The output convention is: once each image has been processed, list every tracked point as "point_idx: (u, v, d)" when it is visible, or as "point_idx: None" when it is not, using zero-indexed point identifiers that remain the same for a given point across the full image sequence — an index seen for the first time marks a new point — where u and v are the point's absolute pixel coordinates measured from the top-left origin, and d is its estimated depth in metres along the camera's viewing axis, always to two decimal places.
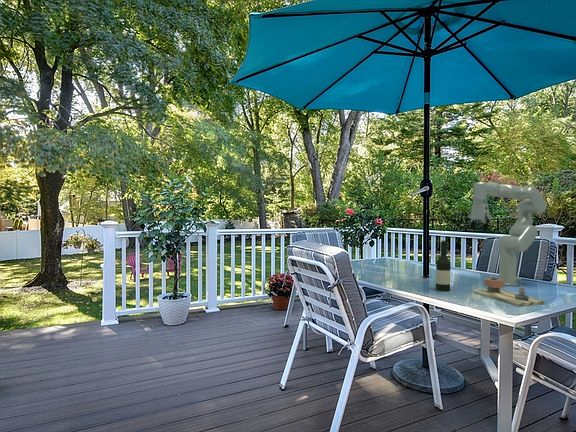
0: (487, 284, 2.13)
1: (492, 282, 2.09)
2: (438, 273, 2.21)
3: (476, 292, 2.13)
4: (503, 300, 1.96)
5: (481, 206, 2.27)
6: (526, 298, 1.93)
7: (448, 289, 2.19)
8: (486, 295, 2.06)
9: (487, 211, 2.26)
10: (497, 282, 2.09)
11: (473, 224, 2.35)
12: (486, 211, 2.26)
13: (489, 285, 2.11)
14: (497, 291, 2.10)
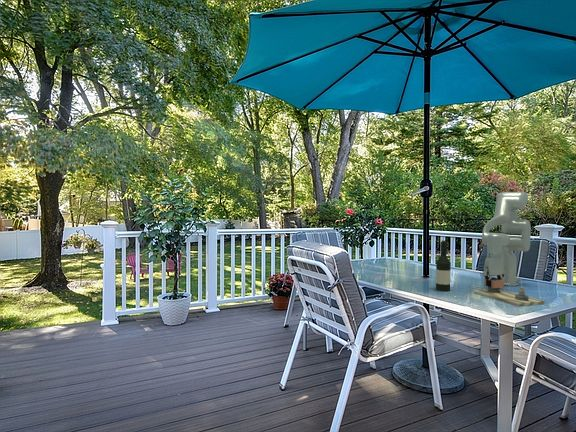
0: None
1: (492, 282, 2.09)
2: (438, 273, 2.21)
3: (476, 292, 2.13)
4: (503, 300, 1.96)
5: (502, 260, 2.11)
6: (526, 298, 1.93)
7: (448, 289, 2.19)
8: (486, 295, 2.06)
9: None
10: (497, 282, 2.09)
11: None
12: None
13: None
14: (497, 291, 2.10)
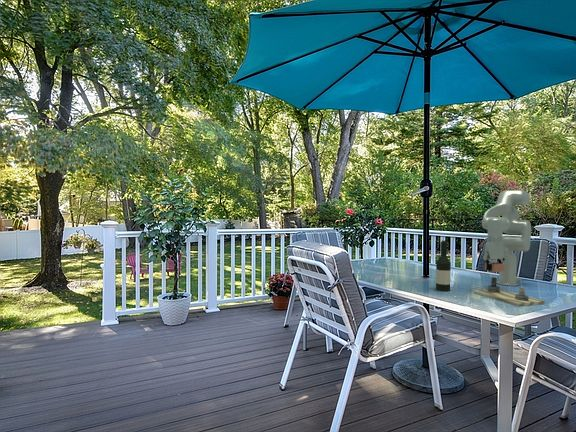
0: None
1: (492, 266, 2.09)
2: (438, 273, 2.21)
3: (476, 292, 2.13)
4: (503, 300, 1.96)
5: (502, 244, 2.11)
6: (526, 298, 1.93)
7: (448, 289, 2.19)
8: (486, 295, 2.06)
9: None
10: (497, 266, 2.09)
11: None
12: None
13: None
14: (497, 291, 2.10)
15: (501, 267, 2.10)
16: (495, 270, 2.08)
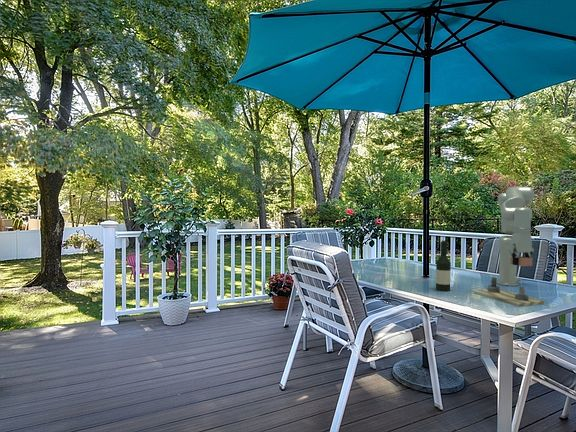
0: None
1: (520, 260, 1.92)
2: (438, 273, 2.21)
3: (476, 292, 2.13)
4: (503, 300, 1.96)
5: (530, 236, 1.94)
6: (526, 298, 1.93)
7: (448, 289, 2.19)
8: (486, 295, 2.06)
9: None
10: (525, 260, 1.92)
11: None
12: None
13: None
14: (497, 291, 2.10)
15: (529, 261, 1.93)
16: (522, 264, 1.91)
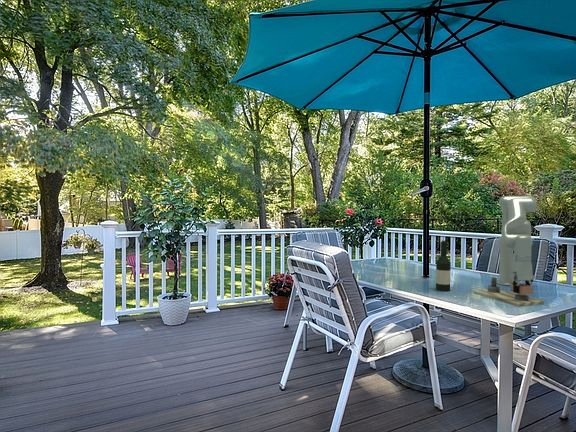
0: None
1: (520, 288, 1.92)
2: (438, 273, 2.21)
3: (476, 292, 2.13)
4: (503, 300, 1.96)
5: (531, 264, 1.94)
6: (526, 298, 1.93)
7: (448, 289, 2.19)
8: (486, 295, 2.06)
9: None
10: (526, 288, 1.91)
11: None
12: None
13: None
14: (497, 291, 2.10)
15: (530, 289, 1.92)
16: (523, 292, 1.91)
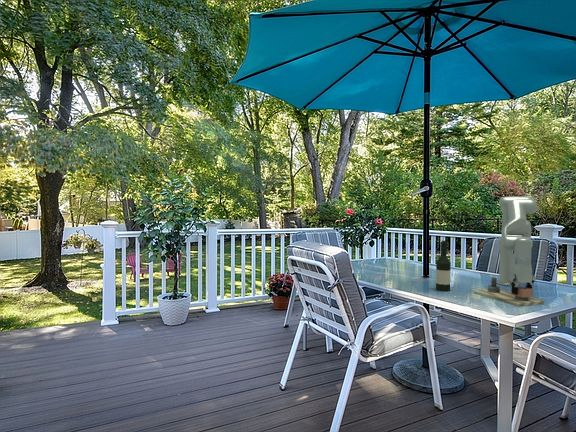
0: None
1: (520, 291, 1.92)
2: (438, 273, 2.21)
3: (476, 292, 2.13)
4: (503, 300, 1.96)
5: (530, 267, 1.94)
6: (526, 298, 1.93)
7: (448, 289, 2.19)
8: (486, 295, 2.06)
9: None
10: (526, 291, 1.92)
11: None
12: None
13: None
14: (497, 291, 2.10)
15: (530, 292, 1.92)
16: (523, 295, 1.91)
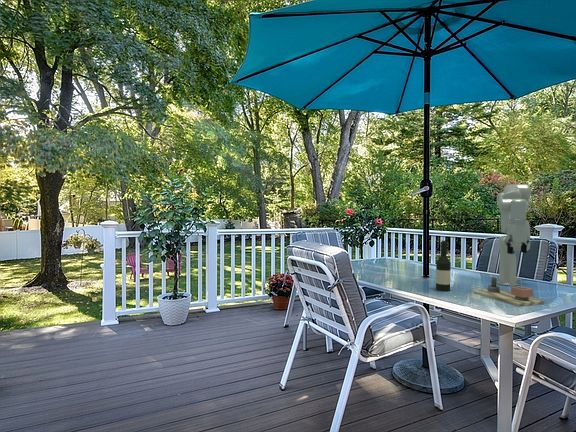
0: (514, 293, 1.95)
1: (520, 291, 1.92)
2: (438, 273, 2.21)
3: (476, 292, 2.13)
4: (503, 300, 1.96)
5: (525, 227, 2.00)
6: (526, 298, 1.93)
7: (448, 289, 2.19)
8: (486, 295, 2.06)
9: None
10: (526, 291, 1.92)
11: None
12: None
13: (517, 294, 1.94)
14: (497, 291, 2.10)
15: (530, 292, 1.92)
16: (523, 295, 1.91)
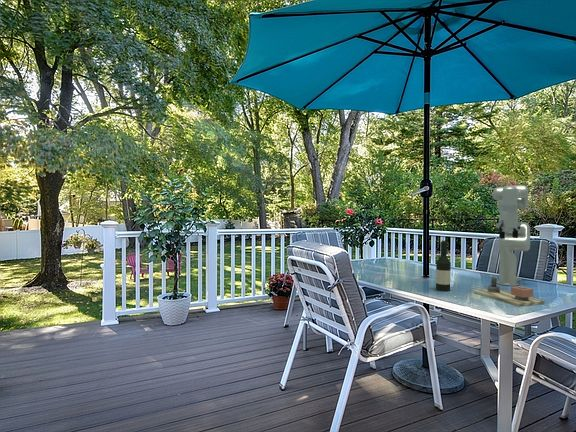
0: (514, 293, 1.95)
1: (520, 291, 1.92)
2: (438, 273, 2.21)
3: (476, 292, 2.13)
4: (503, 300, 1.96)
5: (516, 213, 2.12)
6: (526, 298, 1.93)
7: (448, 289, 2.19)
8: (486, 295, 2.06)
9: None
10: (526, 291, 1.92)
11: None
12: None
13: (517, 294, 1.94)
14: (497, 291, 2.10)
15: (530, 292, 1.92)
16: (523, 295, 1.91)
